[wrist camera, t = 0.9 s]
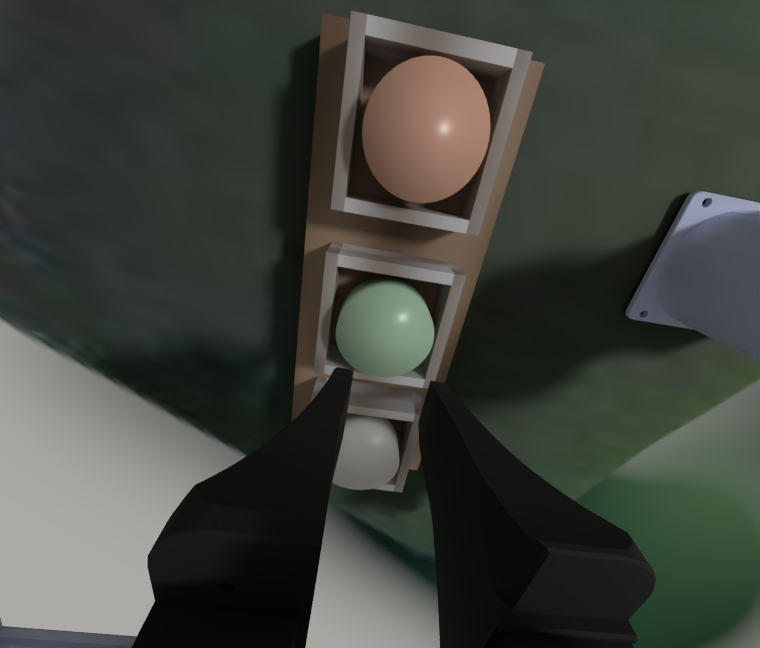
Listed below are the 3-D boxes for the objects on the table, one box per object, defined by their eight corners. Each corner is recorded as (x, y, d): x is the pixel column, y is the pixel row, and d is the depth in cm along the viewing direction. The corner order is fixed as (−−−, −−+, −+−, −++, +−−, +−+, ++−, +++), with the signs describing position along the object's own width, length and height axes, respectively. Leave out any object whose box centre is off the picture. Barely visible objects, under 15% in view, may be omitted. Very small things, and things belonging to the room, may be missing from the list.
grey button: (404, 415, 21) (406, 437, 20) (390, 468, 24) (391, 493, 22) (327, 404, 21) (323, 426, 19) (320, 460, 23) (315, 485, 21)
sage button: (438, 285, 18) (445, 298, 16) (417, 363, 20) (421, 383, 18) (345, 269, 17) (342, 281, 15) (334, 351, 19) (330, 370, 18)
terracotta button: (491, 83, 14) (508, 71, 12) (458, 207, 16) (469, 212, 14) (374, 58, 13) (373, 41, 12) (356, 188, 16) (353, 191, 14)
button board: (526, 74, 17) (575, 44, 12) (414, 450, 28) (421, 499, 23) (328, 30, 16) (311, -18, 12) (294, 435, 27) (279, 483, 23)
